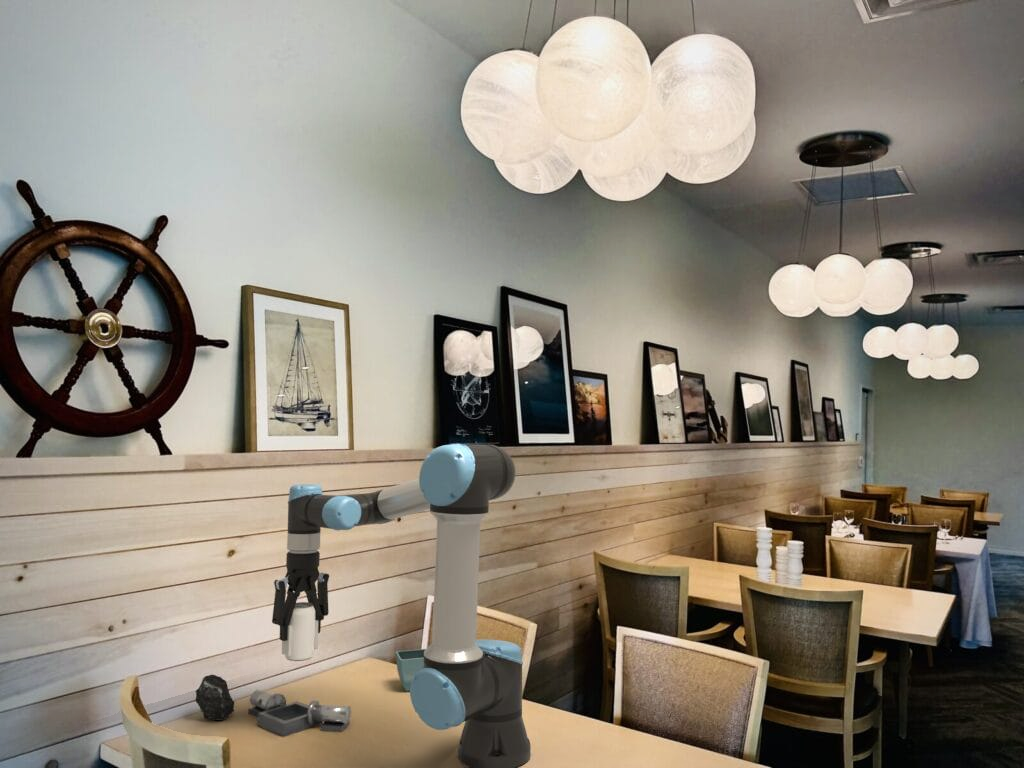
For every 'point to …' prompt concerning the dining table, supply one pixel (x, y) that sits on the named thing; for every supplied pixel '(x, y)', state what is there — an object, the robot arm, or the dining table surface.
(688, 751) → the dining table surface
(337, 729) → the shaft
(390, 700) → the dining table surface
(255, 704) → the shaft
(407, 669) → the flower pot
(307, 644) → the can
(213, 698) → the rock
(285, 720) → the socket
